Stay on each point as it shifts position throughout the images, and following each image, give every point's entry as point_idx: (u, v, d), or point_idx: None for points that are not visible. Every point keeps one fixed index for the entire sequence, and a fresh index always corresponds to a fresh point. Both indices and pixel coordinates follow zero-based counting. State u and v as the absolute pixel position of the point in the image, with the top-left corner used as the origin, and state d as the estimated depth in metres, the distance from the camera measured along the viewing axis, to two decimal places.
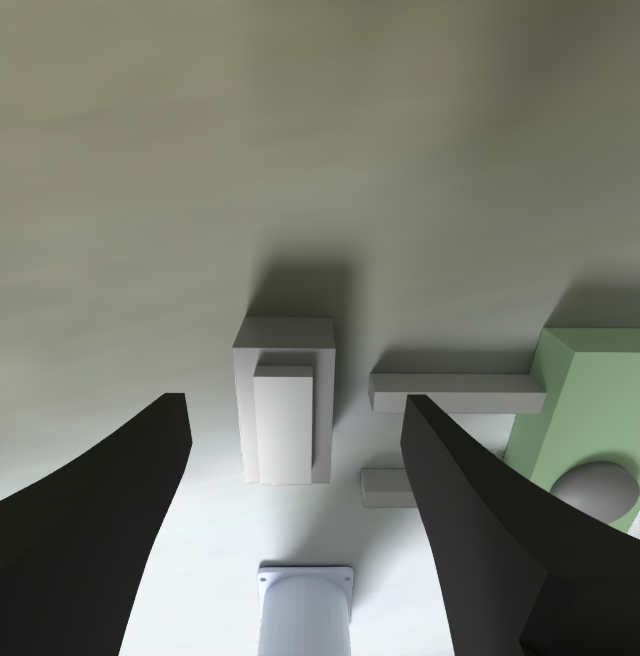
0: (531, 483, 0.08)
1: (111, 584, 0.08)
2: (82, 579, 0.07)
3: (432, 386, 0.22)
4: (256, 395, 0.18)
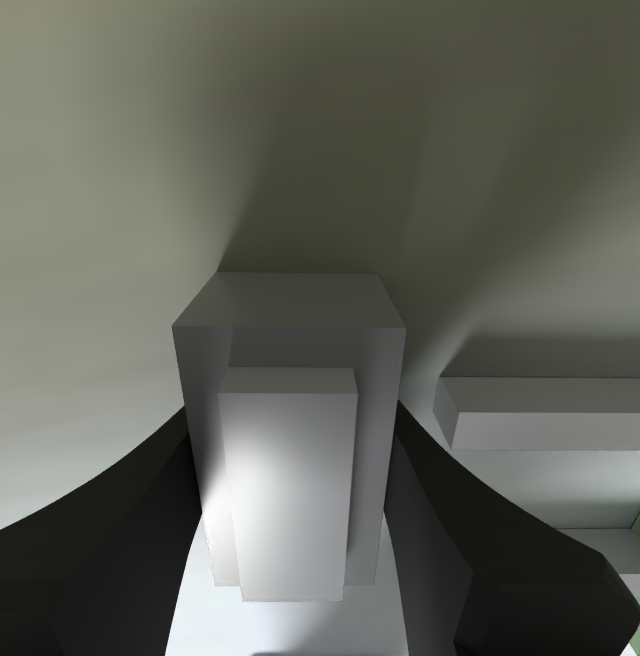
0: (481, 483, 0.08)
1: (159, 584, 0.08)
2: (138, 579, 0.07)
3: (559, 401, 0.12)
4: (227, 434, 0.08)
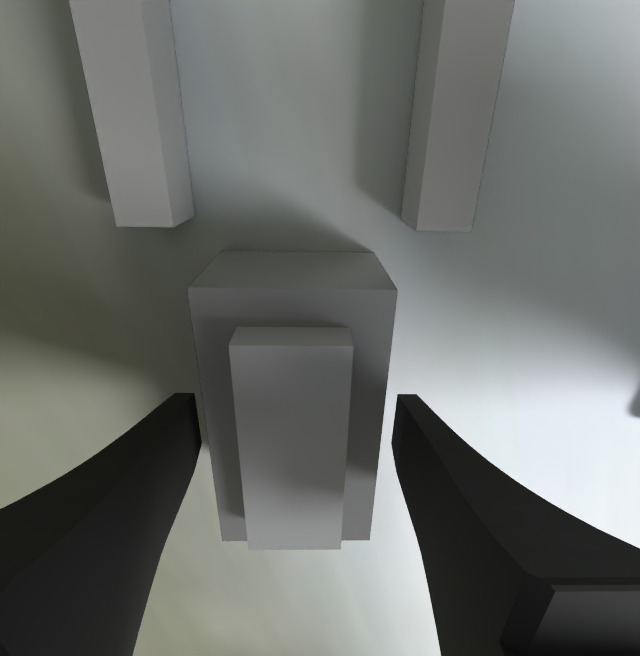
0: (516, 483, 0.08)
1: (126, 584, 0.08)
2: (99, 579, 0.07)
3: None
4: (236, 385, 0.09)
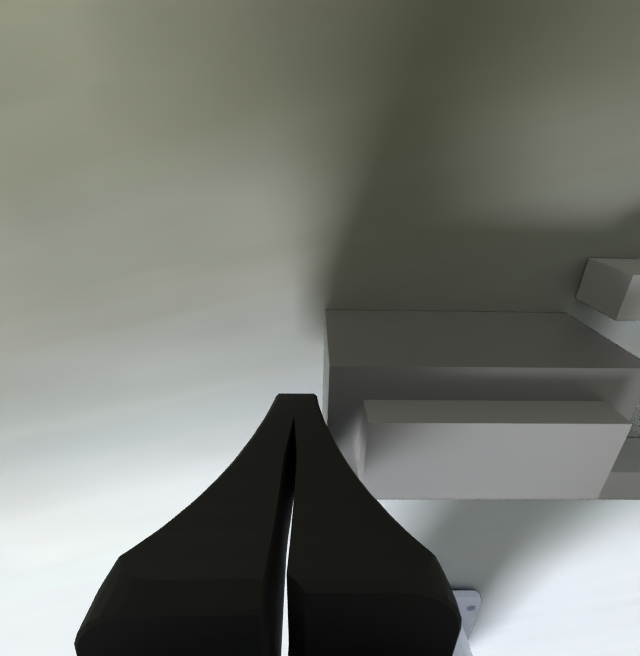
0: (357, 483, 0.07)
1: (280, 583, 0.08)
2: (276, 578, 0.07)
3: None
4: (591, 426, 0.10)
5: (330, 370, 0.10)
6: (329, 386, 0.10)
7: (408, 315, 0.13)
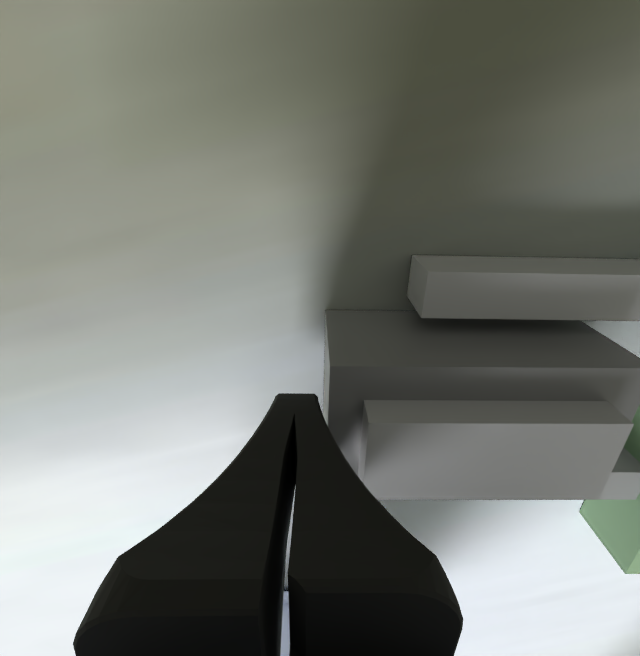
0: (358, 483, 0.07)
1: (280, 583, 0.08)
2: (275, 578, 0.07)
3: (533, 268, 0.12)
4: (592, 426, 0.10)
5: (330, 370, 0.10)
6: (330, 386, 0.10)
7: (408, 315, 0.13)
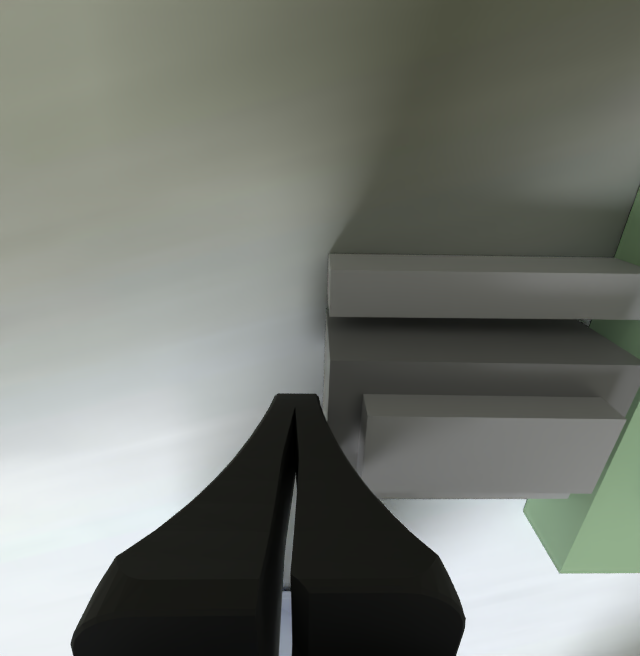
0: (360, 483, 0.07)
1: (278, 583, 0.08)
2: (273, 578, 0.07)
3: (442, 266, 0.12)
4: (586, 421, 0.10)
5: (331, 364, 0.10)
6: (330, 380, 0.11)
7: None
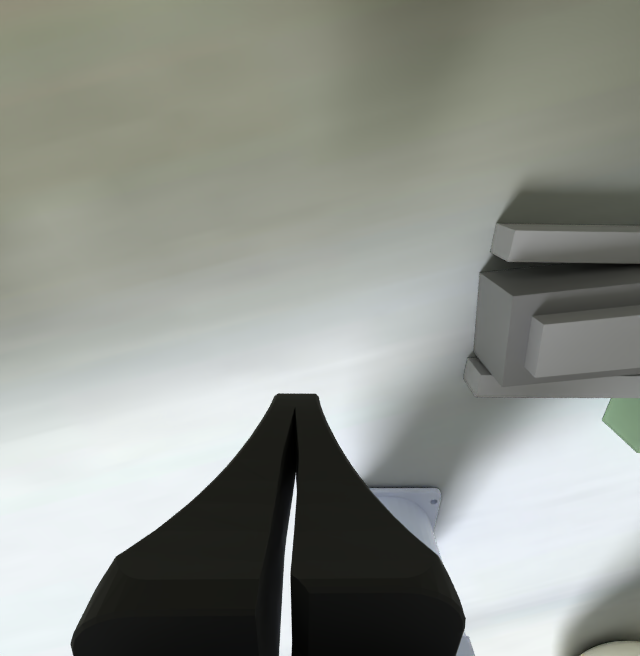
0: (360, 483, 0.07)
1: (278, 583, 0.08)
2: (273, 578, 0.07)
3: (580, 229, 0.18)
4: None
5: (513, 299, 0.17)
6: (511, 309, 0.17)
7: (536, 267, 0.20)
